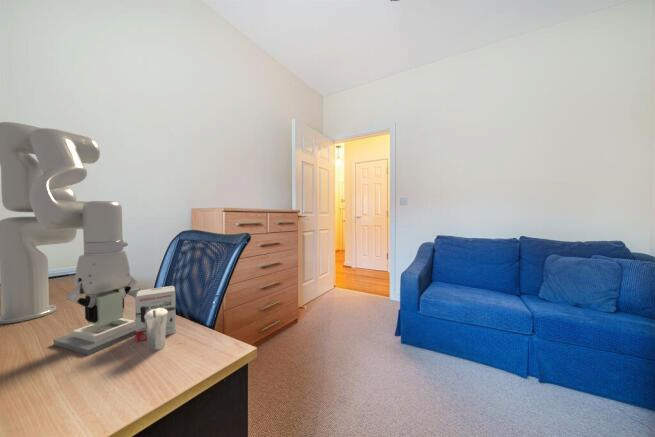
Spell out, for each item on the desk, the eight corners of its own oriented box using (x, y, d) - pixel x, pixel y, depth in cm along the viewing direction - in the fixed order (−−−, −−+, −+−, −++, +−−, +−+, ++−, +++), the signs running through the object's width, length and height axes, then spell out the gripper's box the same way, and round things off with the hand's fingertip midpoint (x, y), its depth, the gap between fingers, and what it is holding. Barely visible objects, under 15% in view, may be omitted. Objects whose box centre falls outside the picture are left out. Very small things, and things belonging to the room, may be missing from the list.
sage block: (88, 322, 62) (87, 295, 62) (111, 315, 67) (110, 290, 66) (100, 325, 60) (99, 297, 60) (123, 317, 65) (122, 291, 65)
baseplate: (53, 344, 59) (53, 333, 59) (119, 320, 72) (118, 311, 72) (88, 355, 55) (88, 343, 54) (151, 327, 68) (151, 318, 68)
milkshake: (142, 356, 54) (141, 312, 54) (147, 345, 58) (146, 304, 58) (166, 351, 56) (165, 308, 56) (169, 340, 61) (168, 301, 60)
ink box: (135, 342, 60) (134, 295, 60) (137, 334, 64) (136, 290, 64) (176, 333, 64) (175, 289, 64) (175, 326, 69) (174, 285, 68)
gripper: (130, 244, 72) (131, 304, 73) (50, 252, 56) (52, 329, 57) (147, 244, 70) (149, 306, 70) (68, 253, 54) (70, 334, 54)
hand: (105, 316), depth 63 cm, fingers closed on sage block, 5 cm apart
